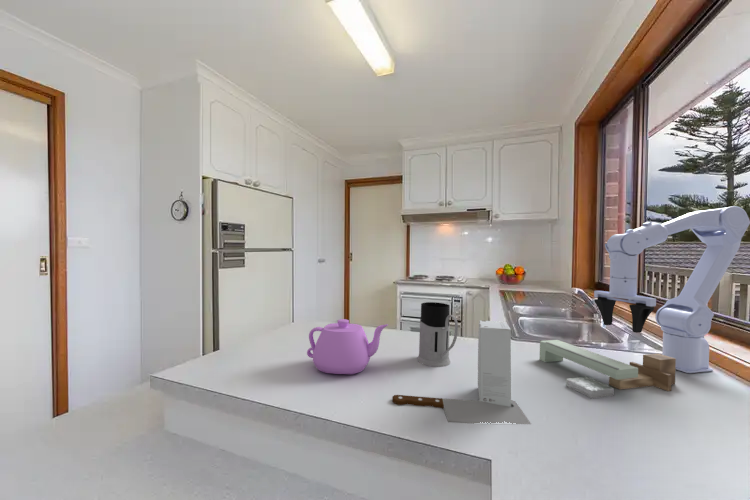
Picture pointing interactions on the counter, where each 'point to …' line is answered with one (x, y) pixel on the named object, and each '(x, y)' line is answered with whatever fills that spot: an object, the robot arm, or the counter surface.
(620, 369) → the drawer pull
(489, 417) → the kitchen cleaver
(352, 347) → the teapot
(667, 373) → the push stick
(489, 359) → the skincare box
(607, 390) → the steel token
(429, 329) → the glass holder
